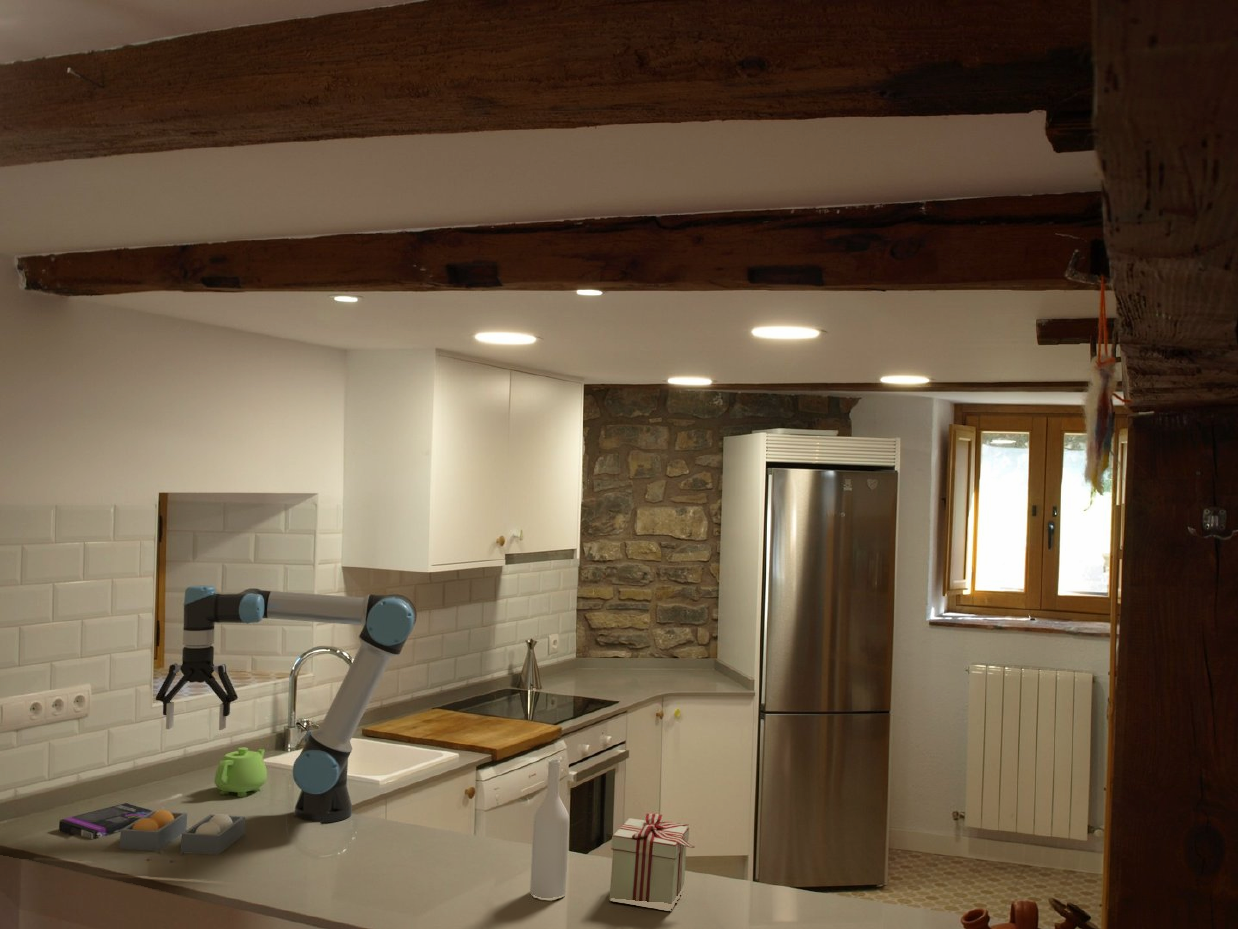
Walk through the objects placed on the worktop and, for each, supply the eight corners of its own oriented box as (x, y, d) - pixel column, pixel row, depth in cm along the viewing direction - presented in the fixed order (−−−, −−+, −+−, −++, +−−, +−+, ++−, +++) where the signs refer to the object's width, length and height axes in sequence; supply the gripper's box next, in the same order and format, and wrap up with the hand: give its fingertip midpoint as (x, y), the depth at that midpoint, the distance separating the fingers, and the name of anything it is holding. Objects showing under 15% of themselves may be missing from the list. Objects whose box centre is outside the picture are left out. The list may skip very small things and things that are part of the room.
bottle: (536, 903, 231) (543, 766, 232) (525, 890, 238) (531, 757, 239) (570, 899, 234) (577, 764, 235) (558, 886, 241) (564, 755, 242)
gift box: (690, 915, 228) (693, 836, 229) (607, 906, 231) (611, 827, 232) (698, 888, 245) (701, 813, 245) (620, 879, 248) (624, 806, 249)
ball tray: (243, 836, 265) (245, 816, 265) (205, 867, 243) (206, 845, 243) (145, 830, 266) (146, 810, 267) (98, 860, 244) (99, 838, 244)
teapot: (243, 780, 316) (245, 738, 316) (281, 786, 312) (283, 743, 312) (197, 797, 297) (200, 752, 297) (237, 803, 293) (240, 758, 293)
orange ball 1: (164, 838, 258) (161, 814, 258) (152, 845, 252) (149, 820, 252) (140, 842, 258) (138, 817, 258) (128, 848, 252) (125, 823, 252)
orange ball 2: (177, 831, 265) (179, 808, 265) (166, 839, 259) (168, 815, 259) (154, 830, 265) (156, 806, 265) (143, 838, 259) (144, 813, 259)
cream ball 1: (224, 844, 257) (225, 819, 257) (213, 852, 251) (215, 827, 251) (200, 843, 257) (202, 818, 258) (189, 851, 251) (191, 825, 252)
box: (93, 846, 256) (161, 824, 273) (93, 831, 256) (162, 811, 273) (57, 834, 263) (126, 813, 280) (58, 820, 263) (127, 800, 280)
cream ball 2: (235, 835, 264) (237, 811, 264) (226, 843, 258) (227, 818, 258) (212, 834, 264) (214, 810, 265) (202, 841, 258) (203, 817, 259)
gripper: (251, 644, 274) (249, 726, 273) (156, 643, 274) (153, 724, 273) (241, 648, 267) (239, 732, 266) (143, 647, 266) (141, 731, 266)
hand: (196, 728), depth 270 cm, fingers open, 13 cm apart
